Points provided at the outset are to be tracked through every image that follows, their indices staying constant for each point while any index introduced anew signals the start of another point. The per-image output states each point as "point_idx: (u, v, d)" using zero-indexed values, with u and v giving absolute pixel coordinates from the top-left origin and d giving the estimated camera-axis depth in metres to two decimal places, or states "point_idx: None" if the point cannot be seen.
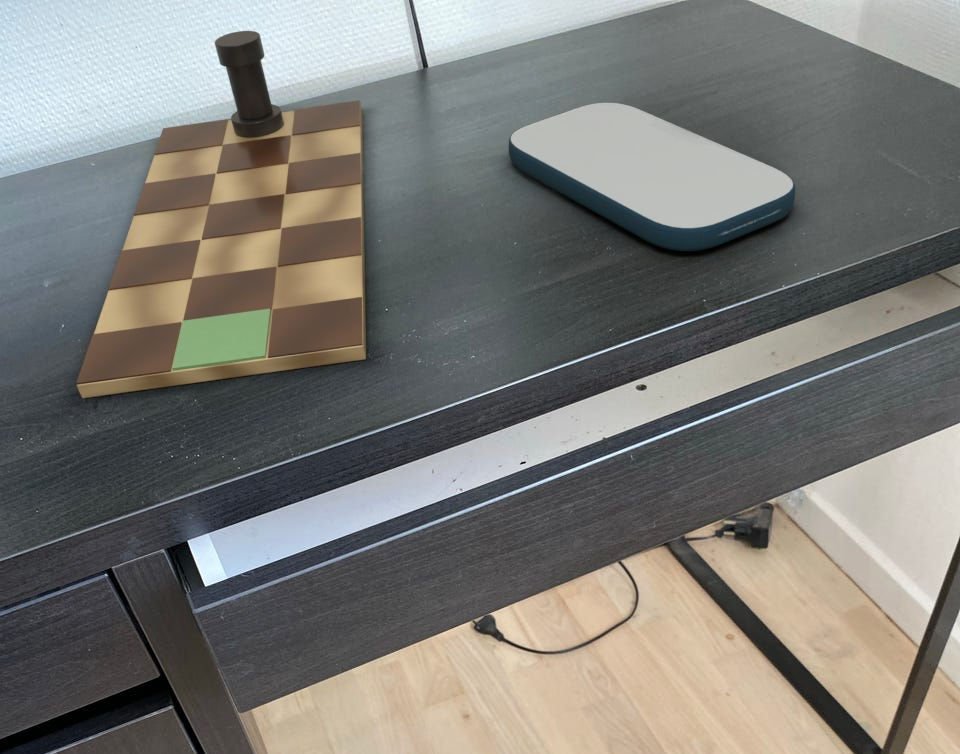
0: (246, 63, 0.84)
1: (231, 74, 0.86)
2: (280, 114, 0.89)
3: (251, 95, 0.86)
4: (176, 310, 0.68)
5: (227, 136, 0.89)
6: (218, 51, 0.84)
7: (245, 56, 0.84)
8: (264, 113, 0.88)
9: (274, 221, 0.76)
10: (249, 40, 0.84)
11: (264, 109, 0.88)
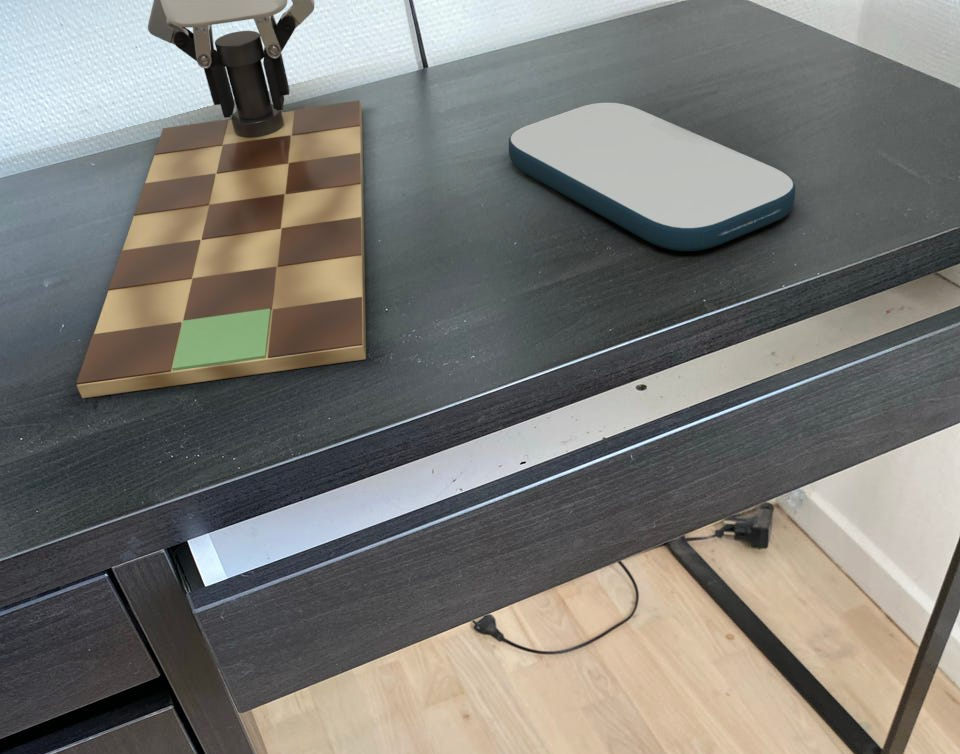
0: (246, 63, 0.84)
1: (231, 74, 0.86)
2: (280, 114, 0.89)
3: (251, 95, 0.86)
4: (176, 310, 0.68)
5: (227, 136, 0.89)
6: (218, 51, 0.84)
7: (245, 56, 0.84)
8: (264, 113, 0.88)
9: (274, 221, 0.76)
10: (249, 40, 0.84)
11: (264, 109, 0.88)
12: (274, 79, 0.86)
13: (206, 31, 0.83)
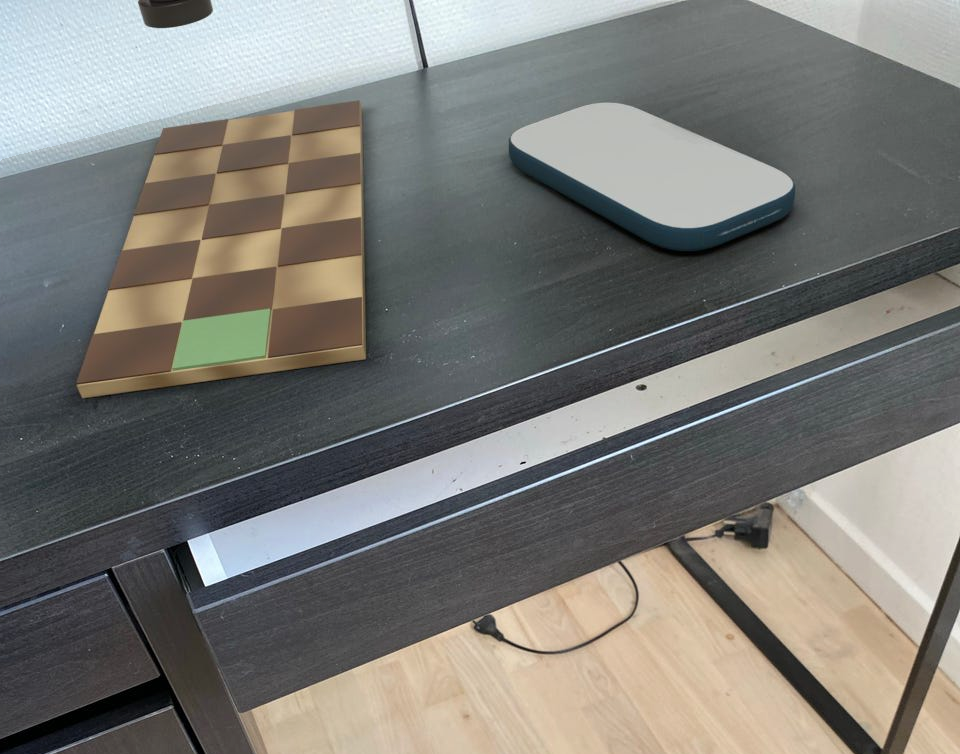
0: None
1: None
2: None
3: None
4: (176, 310, 0.68)
5: (227, 136, 0.89)
6: None
7: None
8: None
9: (274, 221, 0.76)
10: None
11: None
12: None
13: None
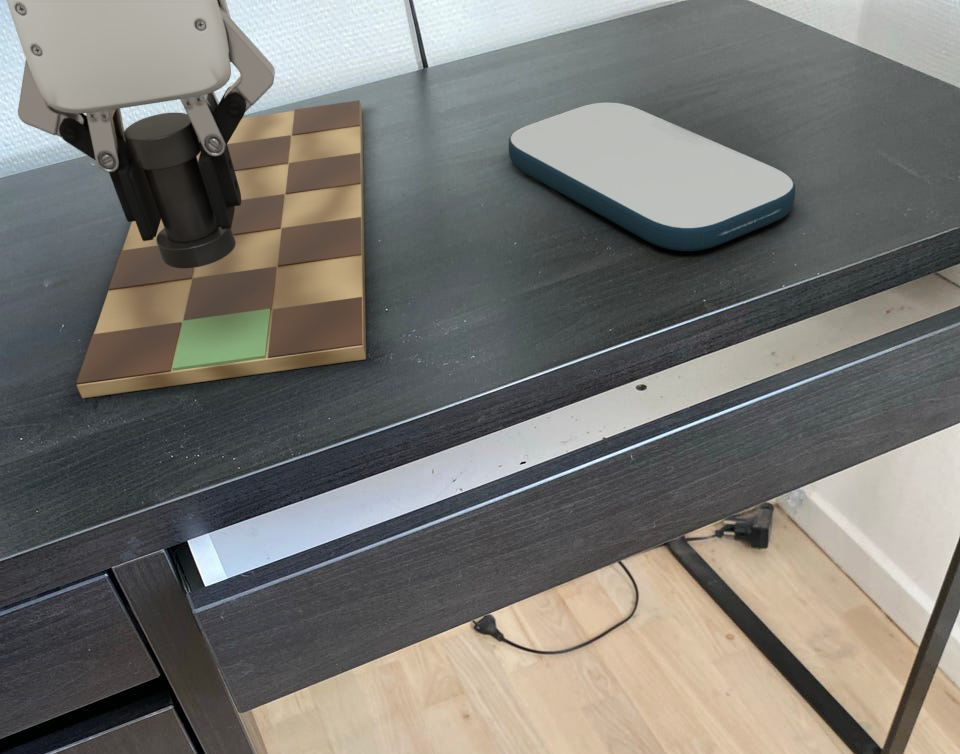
0: (172, 164, 0.55)
1: (151, 179, 0.56)
2: (229, 232, 0.60)
3: (183, 208, 0.57)
4: (176, 310, 0.68)
5: None
6: (129, 146, 0.55)
7: (170, 154, 0.55)
8: (204, 232, 0.59)
9: (274, 221, 0.76)
10: (176, 129, 0.55)
11: (204, 227, 0.59)
12: (216, 186, 0.56)
13: (108, 118, 0.54)
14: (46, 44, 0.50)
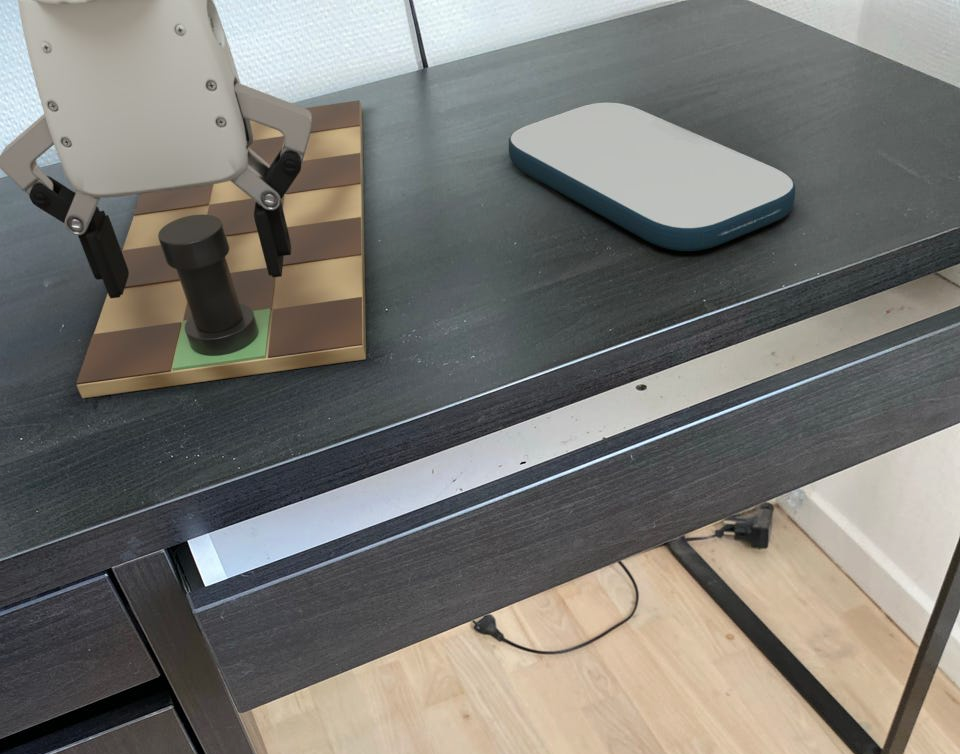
0: (203, 265, 0.59)
1: (182, 276, 0.61)
2: (253, 322, 0.64)
3: (211, 303, 0.62)
4: (176, 310, 0.68)
5: None
6: (163, 248, 0.59)
7: (201, 256, 0.59)
8: (230, 323, 0.63)
9: None
10: (207, 233, 0.59)
11: (230, 318, 0.63)
12: (270, 238, 0.59)
13: (97, 197, 0.57)
14: (75, 137, 0.54)
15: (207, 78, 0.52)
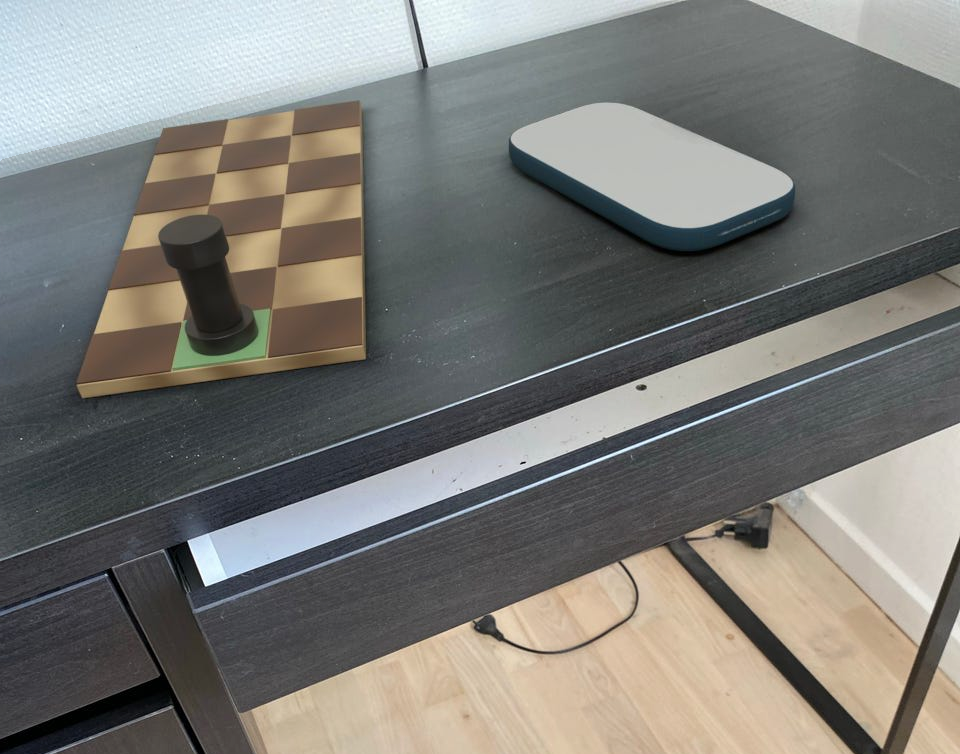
0: (203, 265, 0.59)
1: (182, 276, 0.61)
2: (253, 322, 0.64)
3: (211, 303, 0.62)
4: (176, 310, 0.68)
5: (227, 136, 0.89)
6: (163, 248, 0.59)
7: (201, 256, 0.59)
8: (230, 323, 0.63)
9: (274, 221, 0.76)
10: (207, 233, 0.59)
11: (230, 318, 0.63)
12: None
13: None
14: None
15: None
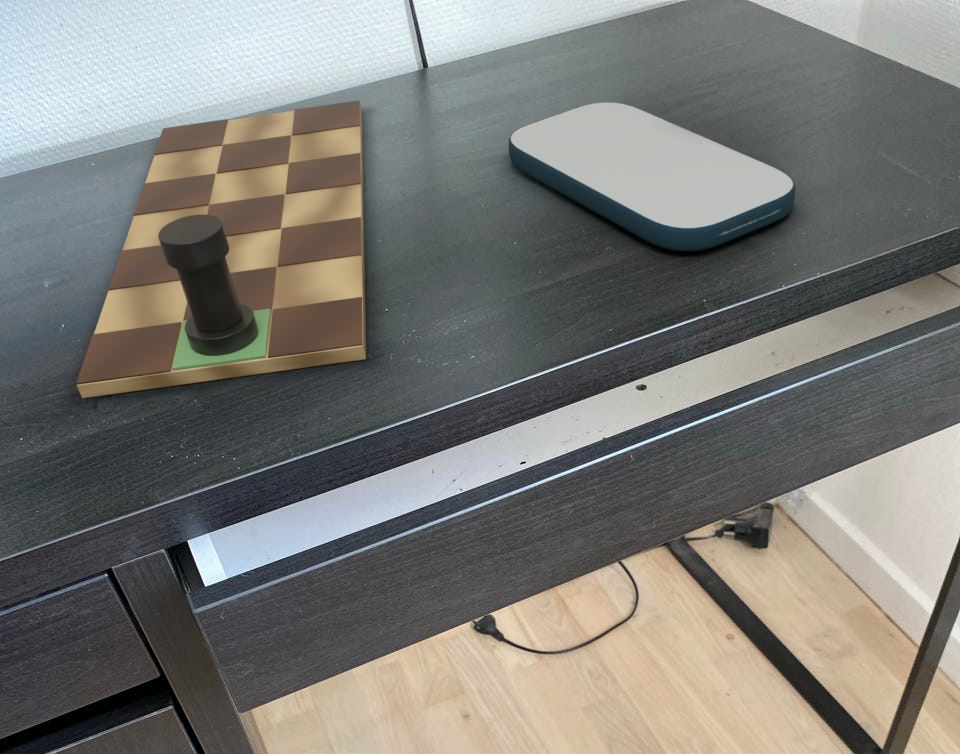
0: (203, 265, 0.59)
1: (182, 276, 0.61)
2: (253, 322, 0.64)
3: (211, 303, 0.62)
4: (176, 310, 0.68)
5: (227, 136, 0.89)
6: (163, 248, 0.59)
7: (201, 256, 0.59)
8: (230, 323, 0.63)
9: (274, 221, 0.76)
10: (207, 233, 0.59)
11: (230, 318, 0.63)
12: None
13: None
14: None
15: None
